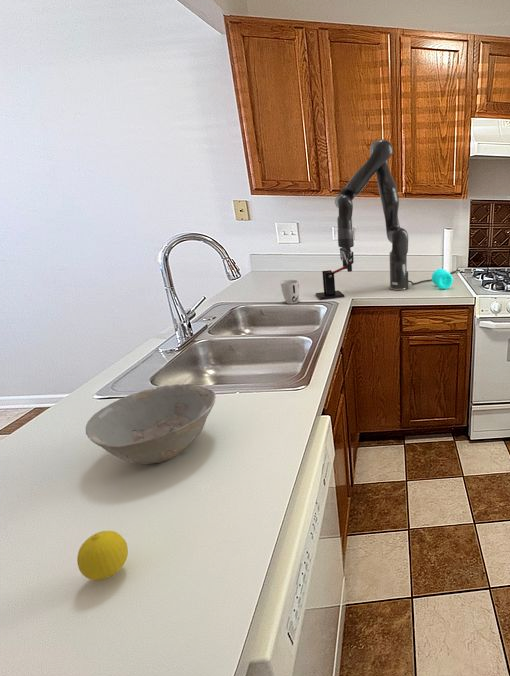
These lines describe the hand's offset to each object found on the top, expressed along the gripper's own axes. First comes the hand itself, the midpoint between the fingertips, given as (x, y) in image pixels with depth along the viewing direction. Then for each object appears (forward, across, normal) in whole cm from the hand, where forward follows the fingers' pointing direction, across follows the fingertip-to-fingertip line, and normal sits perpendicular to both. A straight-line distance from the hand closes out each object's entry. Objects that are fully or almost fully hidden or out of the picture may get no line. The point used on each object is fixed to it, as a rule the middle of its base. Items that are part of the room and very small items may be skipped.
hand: (347, 270), depth 202 cm
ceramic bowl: (+13, -102, +77) cm, 128 cm away
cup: (+13, -2, +29) cm, 32 cm away
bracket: (+13, 0, +10) cm, 16 cm away
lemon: (+13, -133, +83) cm, 157 cm away
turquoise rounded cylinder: (+13, -10, -51) cm, 54 cm away
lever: (+1, 0, +5) cm, 5 cm away
